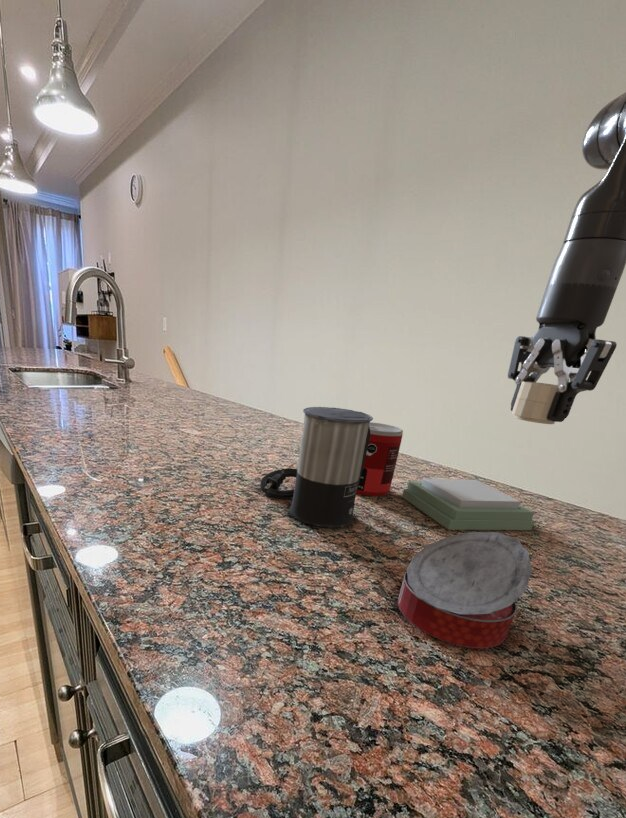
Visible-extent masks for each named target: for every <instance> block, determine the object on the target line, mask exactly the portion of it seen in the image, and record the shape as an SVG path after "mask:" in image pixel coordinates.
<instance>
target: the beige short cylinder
mask: <svg viewBox="0 0 626 818" xmlns="http://www.w3.org/2000/svg"><path fill="white" fill-rule="evenodd" d="M556 392H559V391H558V384H552V383H545V382H538V381H537V382H528V381H522V383H521V386H520V389H519V392H518V395H517V398H516V401H515V404H514V407H513V410H512V411H511V414H512V415H514V419H517V420H521V421H525V422H528V423H529V422H531V423H536V424H542V425H543V424H544V425H555V424H556V422H554V421H549V420H547V416H548V413H549V410H550V407H551V405H552V402H553V399H554V396H555V394H556ZM559 393H560V392H559Z"/></svg>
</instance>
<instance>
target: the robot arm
mask: <svg viewBox="0 0 626 818" xmlns="http://www.w3.org/2000/svg"><path fill="white" fill-rule="evenodd" d="M581 144H582V145H581V152H582V157H583V159H584V161H585V162H586V164H587V165H588V166H589V167H591V168H593V169H596V170H600V171H606V173H605V174H604V176H603V177H602V178H601V179H600V180H599V181H598V182H597V183H596V184H594V185H593V186H592V187H590V188H588V189H587V190H586V191H585V192H583V194H581V195H580V197H579V198H578V200H577V202H576V203H575V206H574V208H573V211H572V214H571V217H570V220H569V223H568V226H567V229H566V233H565V236H564V238H563V240H562V241H563V242H562V244H561V247H560V250H559V252H558V253H557V256H556V258H555V259H554V263H553V265H552V268H551V271H550V274H549V278H548V280H547V283H546V287H545V290H544V293H543V295H542V299H541V302H540V305H539V307H538V311H537V314H536V318H535V320H536V323H538V324H539V325H538V328H537V330H536V332H535V333H534V334H533V335H532V336H523V335H519V336H517V337H516V338H515V341H514V344H513V349H512V355H511V359H510V363H509V368H508V372H507V378H508V379H509V380H513V381H514V383H515V385H516V386H515V390H514V393H513V397H512V400H511V402H510V412H512V410H513V407H514V404H515V401H516V398H517V395H518V392H519V389H520V386H521V383H522V381H528V382H537V383H538V380H539V379H540V378H541V377H542V375H544V374H546V373H547V372H549V370H550V369H551V368H553V369H554V370H553V373H554V375H555V376H556V377H557V385H558V391H559V392H560V393H559V392H556V394H555V396H554V399H553V402H552V405H551V407H550V410H549V413H548V416H547V420H549V421H554V422H555V423H556V422H558V423H562V422H564V421H565V419H567V418H568V416H569V414H570V412H571V410H572V407H573V405H574V402H575V399H576V397H577V395H578V394H579V393H581V392H586V391H589V392H591V391H593V390H595V389H596V387H597V385H598V383H599V381H600V380H601V377H602V375H603V373H604V372H605V369H606V368H607V366H608V364H609V362H610V360H611V358H612V356H613V354H614V352H615V350H616V348H617V342H616V341H613V340H605V339H596V338H597V337H596V332H597V329H598V328H599V327H602V326H603V324H604V323H605V321H606V318H607V316H608V313H609V310H610V307H611V305H612V302H613V299H614V297H615V295H616V291H617V290H618V286H619V283H620V281H621V279H622V276H623V273H624V271H625V267H626V91H625V92H624V93H622V94H620V95H619V96H617V97H615V98H614V99H612V100H611V101H609V102H608V103H607V104H606V105H604V106H603V107H602V108H601V109H600V110H599V111H598V113H596V114H595V116H594V117H593V118H592V120H591V122H590V123H589V125H588V126H587V128H586V130H585V133H584V136H583V139H582V143H581ZM584 355H585V356H584ZM520 364H521V365H520ZM519 367H520V369H519Z"/></svg>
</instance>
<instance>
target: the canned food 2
mask: <svg viewBox="0 0 626 818" xmlns="http://www.w3.org/2000/svg"><path fill="white" fill-rule="evenodd" d="M532 571H533V569H532V564H531V559H530V552H529V551H528V550H527V549H526V548H525V546H523V544H522V543H521V541H519V539H517V538H514V537H512V536H509V535H507V534H504V533H500V532H498V531H492V532H491V531H487V532H486V531H485V532H484V531H469V532H465V533H460V534H454V535H448V536H446V537H444V538H442V539H440V540H437V541H434V542H432V543H429V544H427V545H426V546H424V547H423V548H422V549H421V550H419V551H418V552H417V553H415V554H413V555H412V558H411V560H410V562H409V564H408V565H407V567H406V571H404V575H403V579H402V582H401V587H400V589H399V593H398V598H397V607H398V608H399V611H400V613H401V614H402V616H403V617H404V618H405V619H406V620H407V621H408V622H410V624H412V625H413V626H415V627H416V628H417V629H419V630H420V631H422V632H424V633H425V634H427V635H429V636H431V637H434V638H435V639H438V640H440V641H443V642H446V643H448V644H452V645H456V646H460V647H466V648H473V649H488V648H493V647H497V646H498V645H501V644H502V643H503V642H504V641H505V640H506V638H507V636H508V633H509V631H510V629H511V625H512V622H513V619H514V617H515V615H516V613H517V610H518V609H517V607H518V606H517V603H516V601H517V600H518V599H519V598H520V597H521V596H522V595H523V594H524V593H525V592H526V591H527V588H528V585H529V583H530V582H529V581H530V578H531V575H532Z"/></svg>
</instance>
